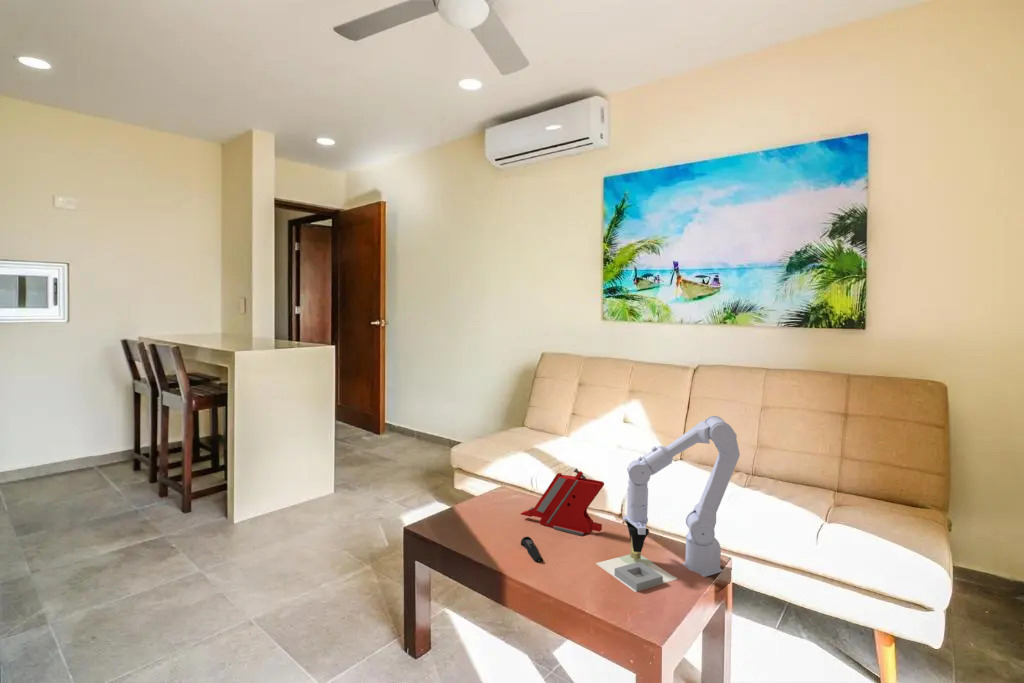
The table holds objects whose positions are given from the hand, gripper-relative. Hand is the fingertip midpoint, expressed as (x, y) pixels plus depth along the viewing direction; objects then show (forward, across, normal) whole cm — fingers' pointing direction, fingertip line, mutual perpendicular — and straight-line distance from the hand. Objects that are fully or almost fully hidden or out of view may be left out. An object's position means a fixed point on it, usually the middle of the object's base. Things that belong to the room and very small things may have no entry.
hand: (636, 548), depth 152 cm
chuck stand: (+5, +6, -1) cm, 8 cm away
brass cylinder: (+2, 0, 0) cm, 2 cm away
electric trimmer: (+5, -5, -30) cm, 31 cm away
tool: (+5, -24, -21) cm, 32 cm away
